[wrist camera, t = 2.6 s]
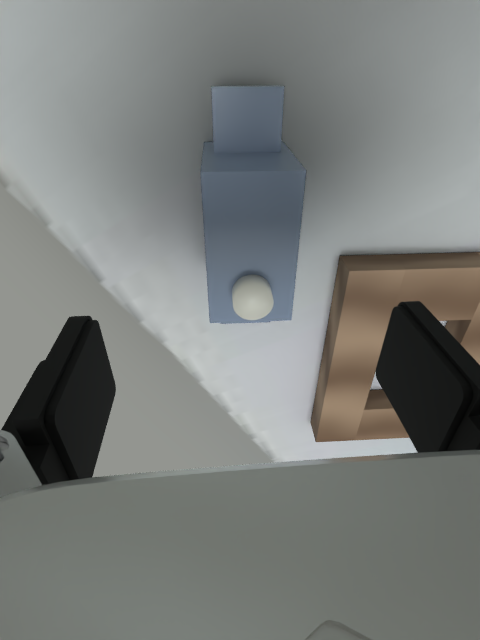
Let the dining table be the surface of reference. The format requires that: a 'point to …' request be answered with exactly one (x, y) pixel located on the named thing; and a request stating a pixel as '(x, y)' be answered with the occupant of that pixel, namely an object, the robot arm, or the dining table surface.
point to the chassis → (370, 328)
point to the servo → (250, 207)
